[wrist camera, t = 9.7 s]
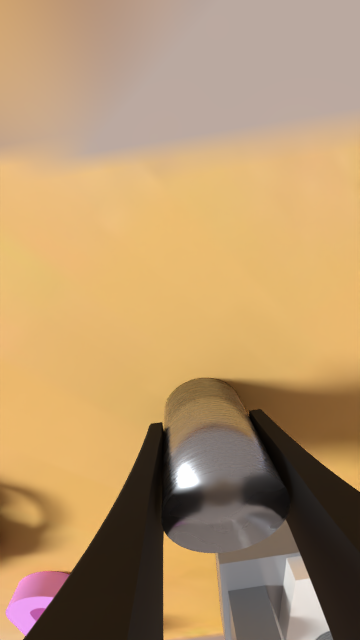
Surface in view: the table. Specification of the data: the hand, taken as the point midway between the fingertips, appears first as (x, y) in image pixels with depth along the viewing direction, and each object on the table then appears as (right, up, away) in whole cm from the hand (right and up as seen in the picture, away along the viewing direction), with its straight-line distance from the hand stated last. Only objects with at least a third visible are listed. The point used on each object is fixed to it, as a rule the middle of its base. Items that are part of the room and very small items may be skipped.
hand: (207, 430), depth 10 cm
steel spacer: (0, 0, +1) cm, 1 cm away
